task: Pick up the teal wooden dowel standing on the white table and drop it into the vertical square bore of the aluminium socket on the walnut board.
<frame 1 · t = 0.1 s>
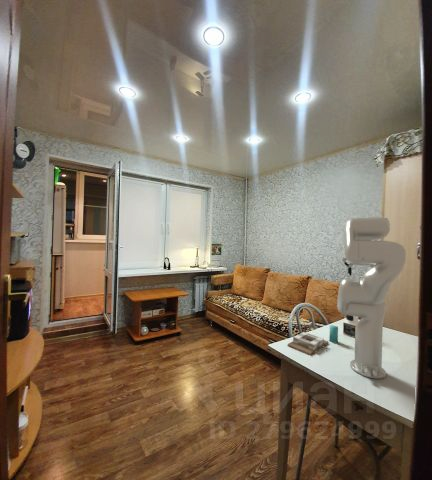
hand: (361, 276, 116), 37 cm above the table, tool pointing down, fingers open, 9 cm apart
peg: (333, 341, 121), on the table
medicine bottle: (351, 334, 131), on the table
socket board: (308, 344, 117), on the table
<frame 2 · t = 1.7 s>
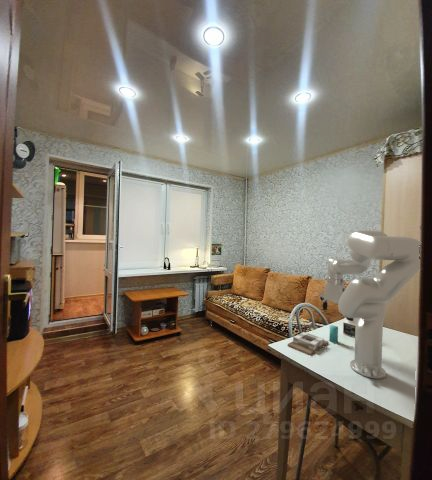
hand: (333, 312, 122), 16 cm above the table, tool pointing down, fingers open, 9 cm apart
nothing on the table moved.
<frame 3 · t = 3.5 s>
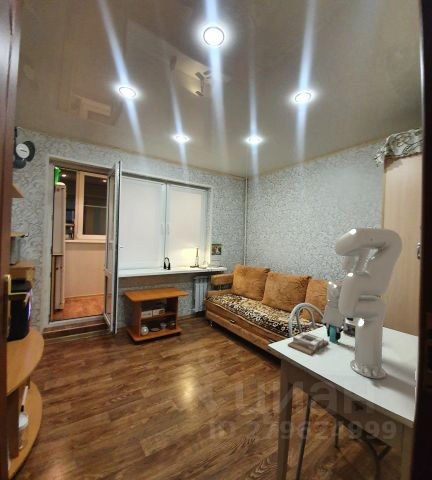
hand: (333, 337, 121), 2 cm above the table, tool pointing down, fingers closed on peg, 4 cm apart
peg: (333, 341, 121), on the table, touching gripper
everything else where it was.
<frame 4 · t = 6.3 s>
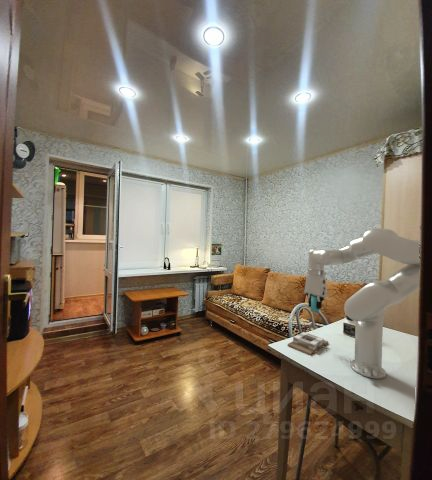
hand: (314, 307, 118), 19 cm above the table, tool pointing down, fingers closed on peg, 4 cm apart
peg: (314, 311, 118), point 17 cm above the table, touching gripper
everything else where it was.
when the fingers open (5 cm above the table, at t = 9.2 s): peg drops 1 cm, resting on socket board.
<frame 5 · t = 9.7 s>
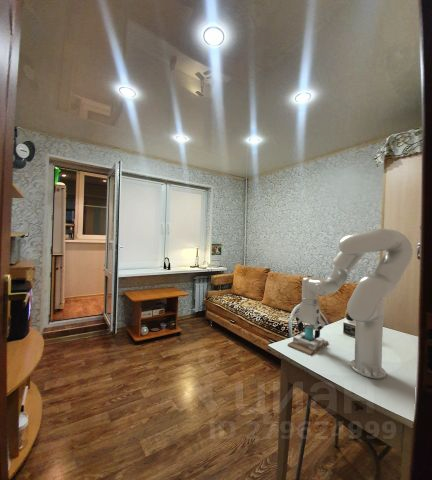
hand: (308, 334, 117), 6 cm above the table, tool pointing down, fingers open, 9 cm apart
peg: (308, 342, 117), point 1 cm above the table, touching socket board
everything else where it was.
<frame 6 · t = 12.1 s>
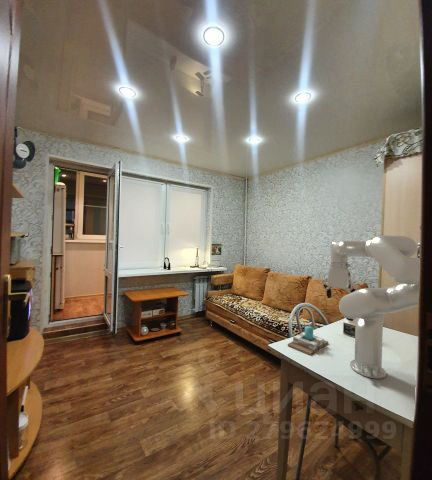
hand: (339, 299, 113), 25 cm above the table, tool pointing down, fingers open, 9 cm apart
nothing on the table moved.
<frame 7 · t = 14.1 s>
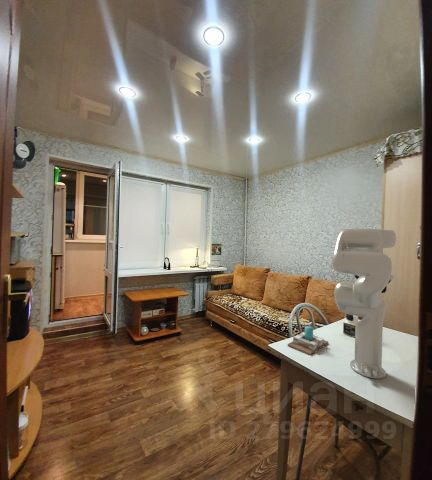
hand: (371, 290, 111), 30 cm above the table, tool pointing down, fingers open, 9 cm apart
nothing on the table moved.
at the end: peg 0.2 cm off-centre on the socket board, point 1.0 cm above the socket board's base; peg tilted 1°; the gripper is holding nothing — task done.
